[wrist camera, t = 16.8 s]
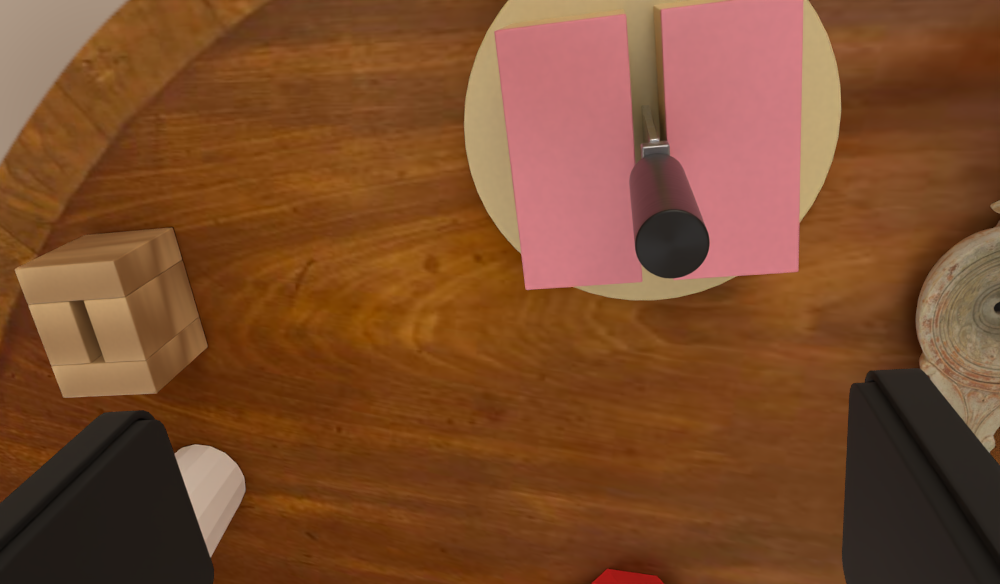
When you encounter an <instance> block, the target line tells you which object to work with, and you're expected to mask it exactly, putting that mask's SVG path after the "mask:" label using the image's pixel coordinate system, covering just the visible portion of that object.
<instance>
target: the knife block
mask: <svg viewBox="0 0 1000 584" xmlns="http://www.w3.org/2000/svg"><path fill="white" fill-rule="evenodd" d="M15 272H16V275H17V277H18V280H19V283H20V285H21V288H22V290H23V293H24V296H25V298H26V301H27V303H28V304H29V305H28V306H29V309H30V311H31V314H32V317H33V319H34V322H35V324H36V327H37V330H38V332H39V335H40V338H41V340H42V343H43V345H44V348H45V351H46V353H47V356H48V359H49V361H50V364H51V365H52V369H53V372H54V374H55V377H56V380H57V382H58V385H59V388H60V390H61V393H62V395H63V397H64V398H68V397H89V396H110V395H131V394H152V393H157V392H159V391H160V390H161V389H162V388H163V387H164V386H165V385H166V384H167V383H168V382H170V381H171V380H172V379H173V378H174V377H175V376H176V375H177V374H178V373H179V372H181V371H182V370H183V369H184V368H185V367H186V366H187V365H188V364H189V363H190V362H192V361H193V360H194V359H195V358H196V357H197V356H198V355H199V354H200V353H202V352H203V351H204V350H205V349H206V348H207V347H208V345H207V341H206V338H205V335H204V331H203V328H202V325H201V321H200V318H199V314H198V311H197V308H196V304H195V301H194V297H193V294H192V291H191V287H190V284H189V281H188V277H187V274H186V270H185V267H184V264H183V261H182V257H181V253H180V250H179V247H178V243H177V240H176V237H175V233H174V230H173V228H172V227H171V228H159V229H148V230H137V231H125V232H114V233H103V234H92V235H84V236H82V237H80V238H78V239H76V240H74V241H71V242H69V243H67V244H65V245H63V246H61V247H59V248H57V249H55V250H53V251H51V252H49V253H47V254H45V255H42V256H40V257H38V258H36V259H34V260H32V261H30V262H28V263H26V264H24V265H22V266H20V267H18V268H16V269H15Z"/></svg>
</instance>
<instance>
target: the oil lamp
mask: <svg viewBox="0 0 1000 584" xmlns="http://www.w3.org/2000/svg"><path fill="white" fill-rule="evenodd" d="M991 208H992V210H994V211H995V212H997V213H999V214H1000V200H999V201H997V202H994V203H992V204H991ZM916 331H917V336H918V340H919V343H920V345H921V348H922V350H923V352H922V354H921V356H920V358H919V364H920V369H921V370H922V371H924V372H925V373H926V375H929V376H930V379H931V381H932V382H933V383H934V385H935V386H936V387H937V388H938V390H939V391H940V392H941V393H942V395H943V396H944V397H945V398H946V400H947V401H948V402H949V403H950V404H951V406H952V407H953V408H954V409H955V411H956V412H957V413H958V414H959V416H960V417H961V418H962V419H963V421H964V422H965V423H966V424H967V426H968V427H969V428H970V429H971V431H972V432H973V433H974V434H975V436H976V437H977V438H978V439H979V441H980V442H981V443H982V444H983V446H984V447H985V448H986V449H987V450H988V452H989V453H990V450H992V449H993V448H994V447H995V440H994V437H993V435H994V433H995V432H996V430H997V429H998V427H999V426H1000V220H999V222H998V224H997V225H996V227H994V228H990V229H986V230H982V231H979V232H977V233H975V234H972V235H970V236H968V237H966V238H965V239H963V240H962V241H960V242H959V243H957V244H956V245H955V246H953V247H952V248H951V249H950V250H949V251H947V252H946V253H945V254H944V255H943V256H942V257H941V258H940V259H939V260H938V261H937V263H936V264H935V265H934V266H933V268H932V269H931V271H930V272H929V274H928V276H927V278H926V279H925V281H924V284H923V286H922V288H921V291H920V295H919V298H918V304H917V311H916Z"/></svg>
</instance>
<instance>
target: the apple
mask: <svg viewBox="0 0 1000 584" xmlns="http://www.w3.org/2000/svg"><path fill="white" fill-rule="evenodd" d="M591 584H664V583H663V582H662V581H661V580H660V579H659V578H658V577H657V576H654V575H647V574H641V573H634V572H627V571H620V570H613V569H606V570H605V571H604V572H603V573H602V574H601V575H600V576H599V577H598V578H597V579H596V580H595V581H593V582H592V583H591Z"/></svg>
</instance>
